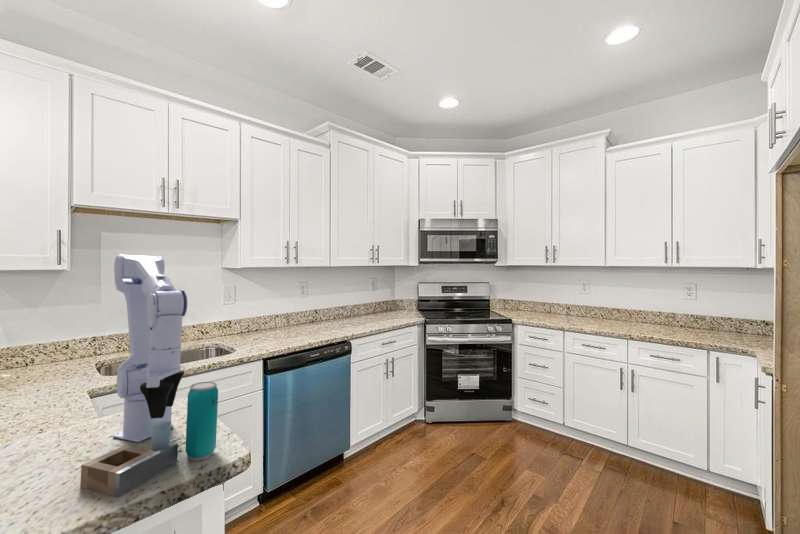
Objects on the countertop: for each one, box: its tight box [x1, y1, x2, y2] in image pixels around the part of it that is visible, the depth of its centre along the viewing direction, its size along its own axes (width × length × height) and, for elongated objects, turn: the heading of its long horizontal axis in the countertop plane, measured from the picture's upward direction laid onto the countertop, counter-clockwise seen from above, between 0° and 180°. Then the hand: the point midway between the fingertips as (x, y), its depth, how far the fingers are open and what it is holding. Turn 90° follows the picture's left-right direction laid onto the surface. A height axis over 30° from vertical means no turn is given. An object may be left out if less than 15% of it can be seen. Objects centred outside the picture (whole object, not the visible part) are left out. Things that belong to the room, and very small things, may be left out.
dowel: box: [150, 420, 172, 452], centre depth 78 cm, size 3×3×7 cm
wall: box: [114, 442, 179, 498], centre depth 70 cm, size 12×1×4 cm, turn 165°
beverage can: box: [185, 381, 219, 462], centre depth 79 cm, size 6×6×15 cm
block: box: [79, 444, 156, 497], centre depth 69 cm, size 8×8×4 cm
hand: (162, 411), depth 78 cm, fingers open, 6 cm apart
